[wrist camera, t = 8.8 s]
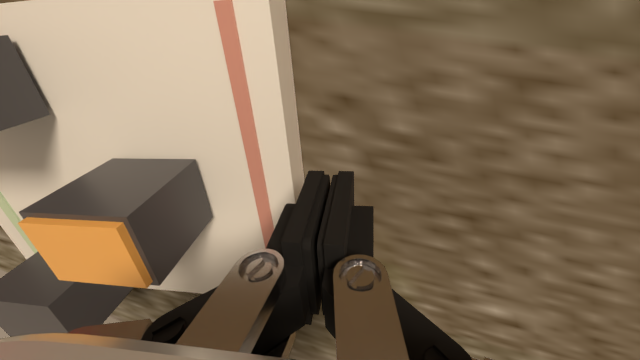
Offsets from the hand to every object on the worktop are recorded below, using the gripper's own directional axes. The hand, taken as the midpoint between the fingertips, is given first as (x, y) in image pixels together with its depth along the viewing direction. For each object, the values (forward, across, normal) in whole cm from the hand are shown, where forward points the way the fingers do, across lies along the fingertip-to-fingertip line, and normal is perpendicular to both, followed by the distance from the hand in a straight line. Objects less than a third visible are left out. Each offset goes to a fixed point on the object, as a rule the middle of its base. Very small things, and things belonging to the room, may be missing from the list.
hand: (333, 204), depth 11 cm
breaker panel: (+3, +11, 0) cm, 11 cm away
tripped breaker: (+1, +8, 0) cm, 8 cm away
